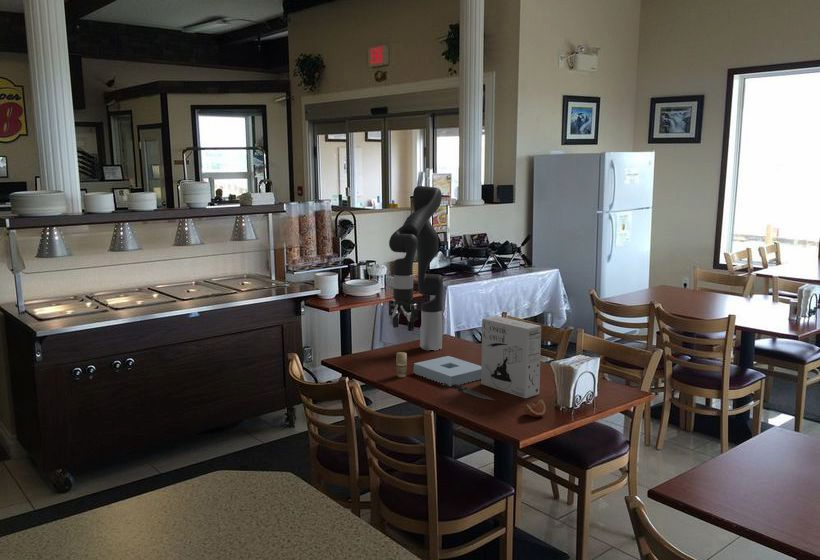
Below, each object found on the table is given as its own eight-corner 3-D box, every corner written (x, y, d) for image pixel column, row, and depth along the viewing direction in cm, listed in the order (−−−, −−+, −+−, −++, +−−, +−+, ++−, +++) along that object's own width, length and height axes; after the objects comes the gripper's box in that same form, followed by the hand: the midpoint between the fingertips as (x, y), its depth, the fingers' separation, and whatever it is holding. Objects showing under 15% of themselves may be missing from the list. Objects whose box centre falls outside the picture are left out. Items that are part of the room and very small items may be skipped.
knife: (488, 403, 237) (498, 401, 240) (488, 401, 237) (498, 398, 240) (439, 385, 258) (449, 382, 261) (439, 382, 257) (449, 380, 261)
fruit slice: (532, 421, 220) (533, 406, 219) (516, 416, 225) (517, 401, 224) (549, 416, 225) (550, 401, 224) (533, 410, 230) (534, 396, 229)
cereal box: (480, 384, 258) (481, 318, 254) (494, 380, 263) (496, 315, 259) (525, 399, 241) (527, 328, 237) (539, 394, 246) (541, 325, 242)
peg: (394, 375, 268) (394, 353, 267) (402, 374, 271) (402, 351, 269) (400, 378, 265) (400, 355, 264) (409, 376, 268) (409, 353, 266)
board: (413, 373, 272) (413, 363, 271) (448, 365, 283) (448, 355, 282) (451, 387, 255) (451, 376, 254) (486, 378, 266) (486, 367, 265)
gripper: (423, 288, 259) (423, 330, 261) (398, 283, 269) (398, 324, 272) (408, 289, 254) (408, 333, 256) (383, 285, 264) (383, 327, 267)
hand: (403, 329), depth 264 cm, fingers open, 8 cm apart
